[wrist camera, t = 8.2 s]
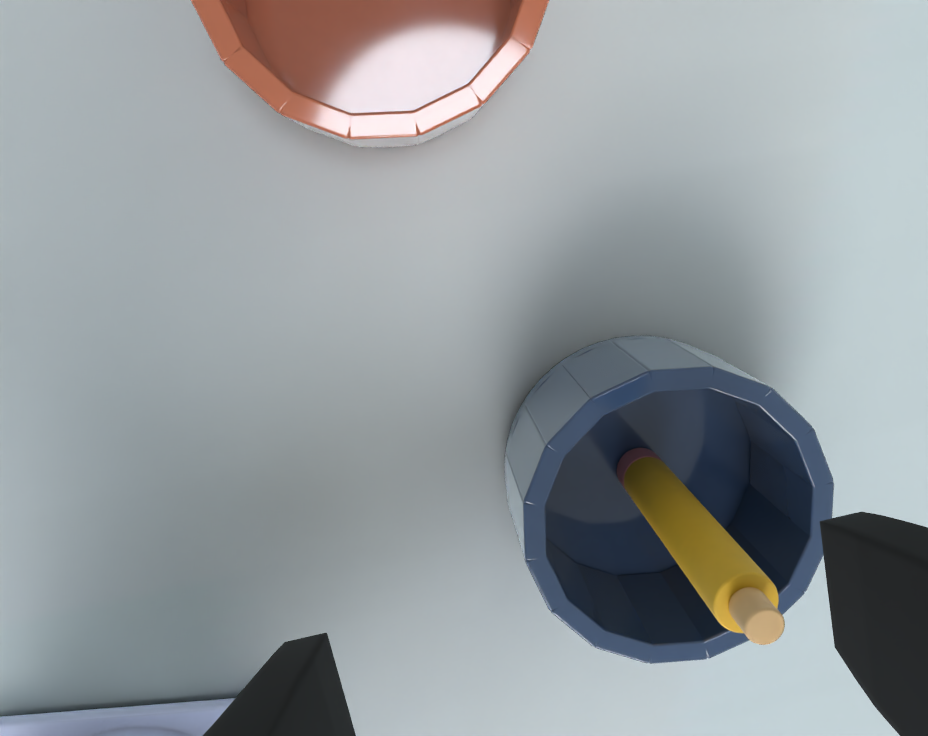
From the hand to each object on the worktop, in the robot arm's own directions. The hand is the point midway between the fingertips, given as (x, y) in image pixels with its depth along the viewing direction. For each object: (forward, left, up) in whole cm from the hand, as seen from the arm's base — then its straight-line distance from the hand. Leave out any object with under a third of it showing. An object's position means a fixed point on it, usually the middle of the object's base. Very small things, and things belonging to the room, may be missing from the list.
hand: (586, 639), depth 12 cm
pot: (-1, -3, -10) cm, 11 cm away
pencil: (-1, -3, -10) cm, 11 cm away
